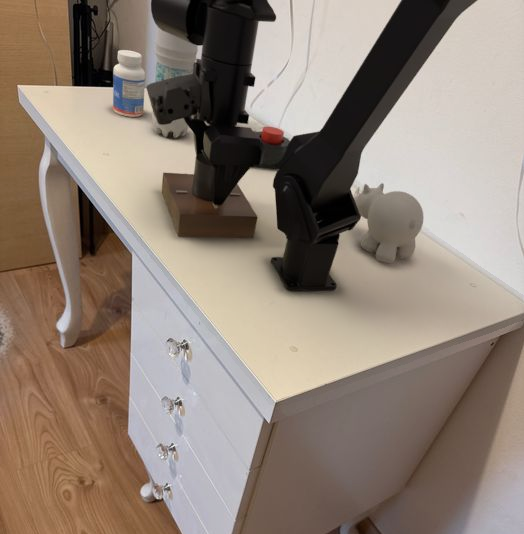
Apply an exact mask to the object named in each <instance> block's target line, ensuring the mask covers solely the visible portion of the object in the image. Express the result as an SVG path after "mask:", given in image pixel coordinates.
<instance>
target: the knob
mask: <svg viewBox="0 0 524 534" xmlns="http://www.w3.org/2000/svg"><path fill="white" fill-rule="evenodd" d="M193 174H194V178H193V187H192V192H193V194H194V195H195V196H197V197H199V198H201V199H204V200H209V201H213V195H212V165H211V164H210V163H209V162H208V161H207V160H206V158H205V156H204V154H203V153H201V154H198V155H197V156H196V155H195V159H194V170H193Z"/></svg>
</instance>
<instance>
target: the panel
mask: <svg viewBox="0 0 524 534" xmlns="http://www.w3.org/2000/svg"><path fill="white" fill-rule="evenodd" d="M193 178H194V173H192V174H191V173H180V172H179V173H177V172H176V173H175V172H162V181H161V195H162V198H163V200H164V201H163V202H164V203H165V206H166V209H167V211H168V214H169V216H170V219H171V222H172V224H173V228H174V230H175V233H176V235H177V237H197V238H198V237H200V238H203V237H204V238H252V239H253V238H254V237H255V232H256V227H257V223H258V218H259V216H258V215H257V213H256V212H255V210H254V208H253V207H252V204H251V203H250V202H249V200H248V198H247V197H246V196H245V194H244V192H243V190H242V189H241V187H240V186H239V183H237V185H236V186H235V187H234V189H233V190H232V192H231V193H230V194H229V196H228V197H227V199H226V200H225V201H224V203H223V204H222V205H214V204H213V201H209V200H204V199H201V198H199V197H197V196H195V195H194V194H193V192H192V187H193Z"/></svg>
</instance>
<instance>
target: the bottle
mask: <svg viewBox="0 0 524 534" xmlns="http://www.w3.org/2000/svg"><path fill="white" fill-rule="evenodd" d="M154 45H155V49H154V53H155V55H156V66H155V82H158V81H162V80H166V79H170V78H173V77H177V76H185V75H189V74H192V73H193V65H194V62H196V60H197V54H198V51H199V50H198V46H197V45H195V44H192V43H190V42H187V41H185V40H183V39H181V38H178V37H176V36H174V35H171V34H169V33H167V32H164V31H162V30H161V29H160V28H158V27H157V31H156V37H155V41H154ZM151 115H152V116H151V119H152V126H153V129H154V131H155V133H157V134H159V135H160V134H162V136H163V137H166V138H167V137H168V136H169V133H170V132H171V133H172V137H173V138H174V139H177V138H179V137H182V138H183V137H185V135H186V134H187V132H188V130H189V126H188V125H187V124H186V122H185V121H184V119H183V118H182V119H178V120H174V121H172V123H170V124H166V125H160V124H158V122H157V119H156V117H155V116H154V113H153V112H152V113H151Z"/></svg>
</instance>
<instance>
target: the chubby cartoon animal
mask: <svg viewBox="0 0 524 534" xmlns="http://www.w3.org/2000/svg"><path fill="white" fill-rule="evenodd" d="M384 186H385V184H384V183H383V182H382V183H380V184H379V185H378V186H377V187H370V186H369V185H368V184H367V183H365V184H364V185H363V188H362V191H361V192H360V189H361V188H360V186H359V187H357V189H356V190H355V191H354V195H353V197H354V200H355V203H356V205H357V208H358V210H359V213H360V216H361V218H363V219H366V221H367V229H368V231H367V232H366V233H365V234H364V236H363V238H362V240H361V242H360V243H361V244H360V245H361V248H362V249H363V250H364V251H366V252H368V253H369V252H370V253H375V258H376V259H377V260H378V261H379V262H382V263H385V264H390V263H391V264H392V263H393V262H394V261H395V259H396V257H398V258H401V259H411V257H413V255H414V253H415V250H416V238H417V237H418V235H419V234H420V233H421V230H422V228H423V225H424V211H423V208H422V206H421V204H420V202H419V201H418V200H417V198H415V197H414V196H413V195H412V194H410V193H407V192H405V191H402V190H401V191H400V190H394V191H389V192H386V193H384V188H385V187H384Z"/></svg>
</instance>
